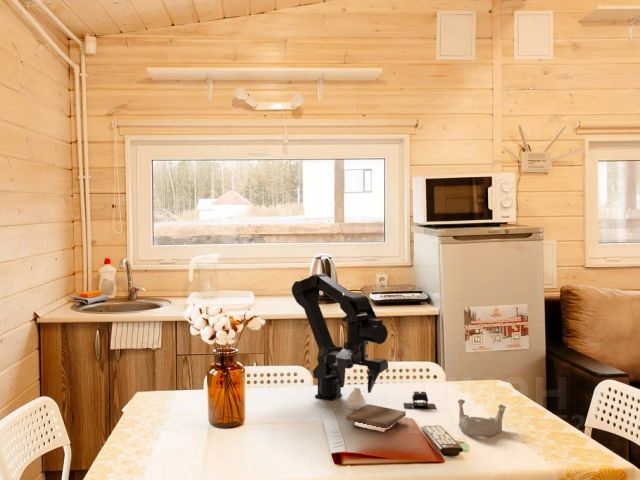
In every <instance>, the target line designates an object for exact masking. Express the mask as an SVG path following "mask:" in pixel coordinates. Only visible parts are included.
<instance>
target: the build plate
mask: <svg viewBox="0 0 640 480" xmlns="http://www.w3.org/2000/svg"><path fill="white" fill-rule="evenodd" d="M428 398H429V397H428V393H427V392H426V391H420V392H419V391H413V394H412V396H411V399H412V402H403V407H404V408H403V409H405V410H438V408H437V407H436V404H435V403H428V402H429V399H428ZM418 401H422V402H418Z"/></svg>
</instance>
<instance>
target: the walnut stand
mask: <svg viewBox="0 0 640 480" xmlns="http://www.w3.org/2000/svg"><path fill="white" fill-rule="evenodd" d="M406 414H407V413H406V410H405V411H404V410H400V409H394V408H389V407H384V406H379V405H373V404H369V403H367V404H366V403H365V406H363V407H361V408H359V409H355V410H354V411H351V412H350V413H349V414H346V416H345V417H346V418H345V419H346V421H349V422H353V423H354V422H358V423H363V424H367V425H372V426H376V427H381V428H388V427H390V426H391V425H393V424H394V423H396V422H397V421H398V422H399V421H400V420H401V419H403V418H404V417H406Z"/></svg>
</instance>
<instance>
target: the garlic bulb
mask: <svg viewBox="0 0 640 480" xmlns="http://www.w3.org/2000/svg"><path fill="white" fill-rule="evenodd" d="M346 400H347V401H346V405H347V407H348V408H349V409H350V410H357V409H359V408H361V407H363V406H365V405H366V399H365V398H364V395H363V393H362V391H361V388H360V387H357V386H354V388H353V390H352V391H351V392H350V394H349V395H348V397H347V399H346Z"/></svg>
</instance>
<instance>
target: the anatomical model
mask: <svg viewBox="0 0 640 480" xmlns="http://www.w3.org/2000/svg"><path fill="white" fill-rule="evenodd" d="M457 402H458V406H459V407H458V408H459V411H458V413H459V414H458V415H459V417H458V418H459V422H458V427H459V428H460V429H461V430H460V431H461V432H463V433H464V434H465V435H468V436H473V437H479V438H480V437H481V438H490V437H493V436H496V435H498V434H500V433H502V432H503V417H504V413H505V410H506V409H507V407H506V405H503V404H502V403H500V404H499V405H498V411H497V413H496V415H495V417H492V416H491V417H488V418H486V417H485V418H484V417H481V416H480V417H477V416H469V415H468V414H465V413H464V408H463V406H464V403H466V401H465V400H464V399H461V398H460V399H458V400H457Z"/></svg>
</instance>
